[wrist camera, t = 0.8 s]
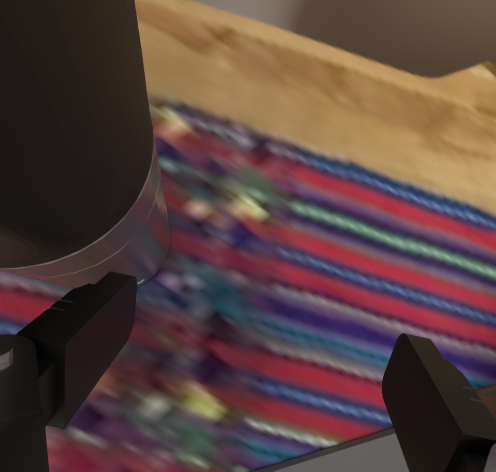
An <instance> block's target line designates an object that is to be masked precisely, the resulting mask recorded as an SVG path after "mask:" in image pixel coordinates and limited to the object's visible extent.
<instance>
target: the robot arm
mask: <svg viewBox="0 0 496 472" xmlns="http://www.w3.org/2000/svg"><path fill="white" fill-rule="evenodd" d="M170 234H171V233H170V227H169V220H168V213H167V207H166V201H165V195H164V189H163V183H162V177H161V171H160V166H159V160H158V156H157V150H156V144H155V138H154V133H153V127H152V121H151V116H150V111H149V104H148V98H147V90H146V82H145V74H144V66H143V57H142V50H141V43H140V36H139V29H138V22H137V15H136V9H135V2H134V0H0V271H1V272H6V273H10V274H15V275H19V276H24V277H29V278H33V279H38V280H42V281H47V282H51V283H55V284H60V285H64V286H69V287H73V288H75V289H73V290H71V291H70V292H69V293H67V294H66V295H65V296H64V297H62V298H61V300H60V301H57V302H56V303H55V304H54V305H52V306H51V308H50V309H47V310H46V311H45V312H43V313H42V314H41V315H40V316H38V317H37V318H36V319H35V320H33V321H32V322H31V323H30V324H28V325H27V326H26V327H24V328H23V329H22V330H21V331H19V332H18V333H17V334H16V335H0V472H49V465H48V454H47V443H46V433H45V427H46V425H48V426H53V427H57V428H61V429H64V428H65V427H66V426H67V424H68V423H69V421H70V420H71V419H72V417H73V416H74V414H75V413H76V412H77V410H78V409H79V407H80V406H81V405H82V403H83V402H84V400H85V399H86V398H87V396H88V395H89V393H90V392H91V391H92V389H93V388H94V387H95V385H96V384H97V382H98V381H99V380H100V378H101V377H102V375H103V374H104V373H105V371H106V370H107V368H108V367H109V366H110V364H111V363H112V361H113V360H114V359H115V357H116V356H117V354H118V353H119V352H120V350H121V349H122V348H123V346H124V345H125V343H126V342H127V340H128V338H129V336H130V334H131V331H132V327H133V323H134V313H135V302H136V290H137V287H139V286H140V285H142V284H144V283H146V282H147V281H148V280H149V279H150V278H152V277H153V276H154V275H155V274H156V273H157V271H158V270H159V269H160V268H161V266H162V265H163V263H164V261H165V259H166V257H167V254H168V250H169V247H170ZM382 395H383V399H384V402H385V405H386V408H387V410H388V413H389V416H390V419H391V422H392V424H393V427H394V430H395V433H396V436H397V439H398V441H399V444H400V447H401V450H402V453H403V455H404V458H405V461H406V464H407V467H408V469H409V472H496V420H495V418H494V417H493V415H492V414H491V413H490V411H489V410H488V408H487V407H486V406H485V404H483V403H482V400H481V399H480V397H479V396H478V394H477V393H476V391H473V387H472V386H471V384H470V383H469V382H468V380H467V379H466V377H465V376H464V375H463V373H462V372H460V371H459V370H458V369H457V368H456V367H455V366H453V365H452V364H451V363H450V362H449V361H448V360H445V359H444V358H443V357H442V355H441V354H440V352H439V351H438V349H437V348H436V346H435V345H434V344H433V342H432V341H431V340H430V339H428V338H423V337H419V336H414V335H409V334H404V333H402V334H401V335H400V336H399V337H398V339H397V341H396V344H395V346H394V349H393V352H392V354H391V357H390V360H389V363H388V365H387V368H386V371H385V373H384V376H383V381H382Z"/></svg>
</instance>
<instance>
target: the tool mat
mask: <svg viewBox="0 0 496 472" xmlns="http://www.w3.org/2000/svg"><path fill="white" fill-rule="evenodd" d="M252 472H409V469H408V467H407V464H406V461H405V458H404V455H403V453H402V450H401V447H400V444H399V441H398V439H397V436H396V433H395V430H394V428H391V429H388V430H385V431H381V432H378V433H375V434H372V435H369V436H365V437H362V438H359V439H356V440H352V441H349V442H346V443H343V444H339V445H336V446H333V447H330V448H326V449H323V450H320V451H317V452H314V453H310V454H307V455H304V456H301V457H297V458H294V459H291V460H288V461H284V462H281V463H278V464H275V465H272V466H268V467H265V468H262V469H259V470H255V471H252Z"/></svg>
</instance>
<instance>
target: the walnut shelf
mask: <svg viewBox="0 0 496 472" xmlns="http://www.w3.org/2000/svg"><path fill="white" fill-rule="evenodd" d="M473 391H476V393H477V394H478V396H479V397H480V399H481V400H482V403H483V404H485V406H486V407H487V408H488V410H489V411H490V413H491V414H492V415H493V417H494V418H495V420H496V384H493V385H490V386H486V387H483V388H480V389H476V390H473Z"/></svg>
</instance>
